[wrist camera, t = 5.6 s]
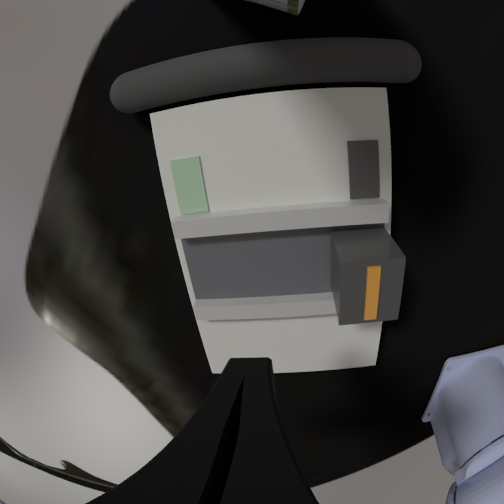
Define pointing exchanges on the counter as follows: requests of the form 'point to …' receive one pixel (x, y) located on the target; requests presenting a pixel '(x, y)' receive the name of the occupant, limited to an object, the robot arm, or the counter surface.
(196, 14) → the counter surface
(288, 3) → the syrup box
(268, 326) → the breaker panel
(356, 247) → the toggle
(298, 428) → the counter surface
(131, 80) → the dark grey rounded bar
